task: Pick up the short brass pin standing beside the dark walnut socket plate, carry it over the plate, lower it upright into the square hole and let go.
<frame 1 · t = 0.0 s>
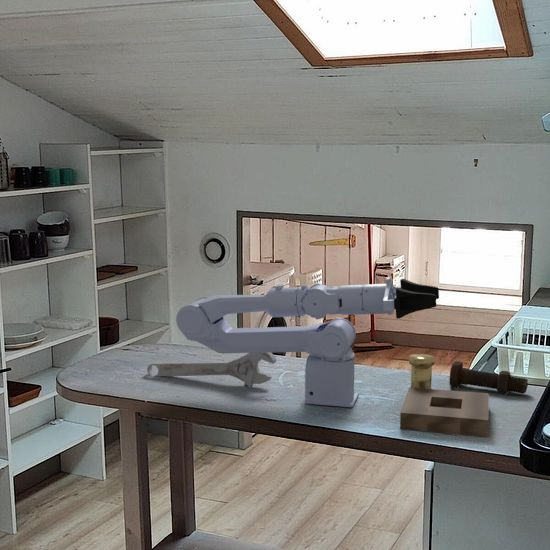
hand: (437, 296, 147), 22 cm above the table, tool horizontal, fingers open, 7 cm apart
brass pin: (420, 395, 158), on the table
bolt: (488, 392, 162), on the table
socket plate: (445, 418, 145), on the table
wrench: (210, 383, 168), on the table
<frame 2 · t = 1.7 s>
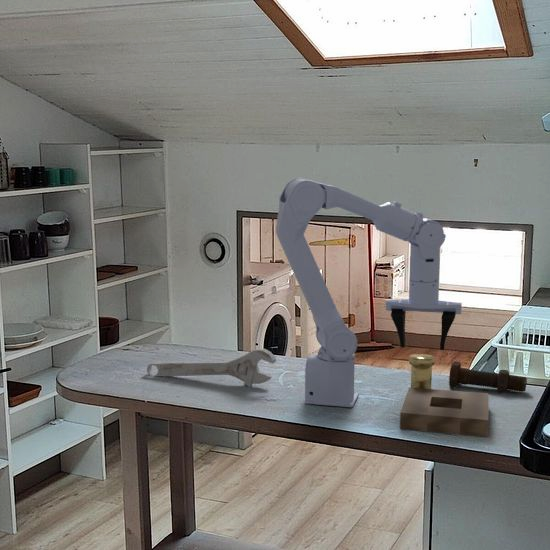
hand: (422, 347, 156), 10 cm above the table, tool pointing down, fingers open, 7 cm apart
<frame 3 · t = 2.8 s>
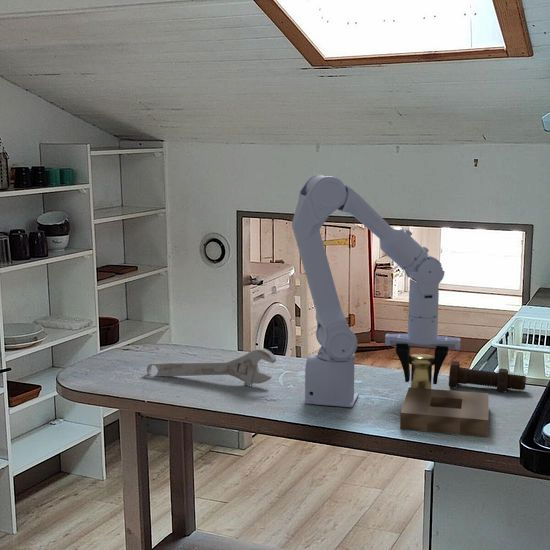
hand: (421, 381, 158), 3 cm above the table, tool pointing down, fingers closed on brass pin, 5 cm apart
brass pin: (420, 395, 158), on the table, touching gripper
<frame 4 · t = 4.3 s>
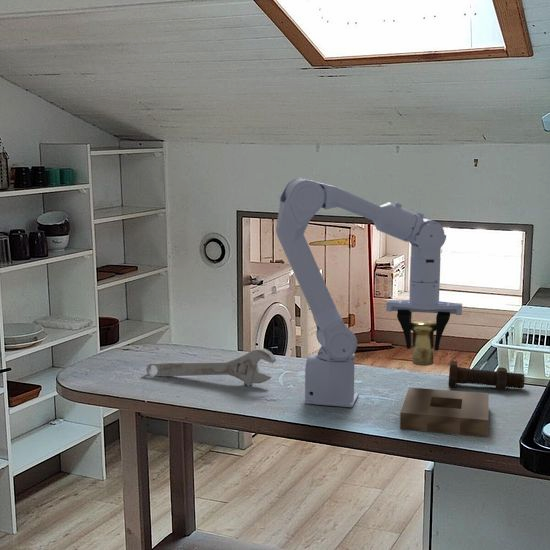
hand: (422, 348, 156), 10 cm above the table, tool pointing down, fingers closed on brass pin, 5 cm apart
brass pin: (423, 362, 157), point 7 cm above the table, touching gripper
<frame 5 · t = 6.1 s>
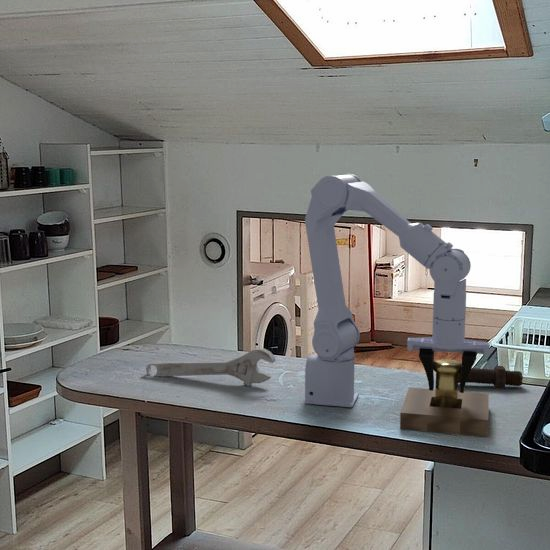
hand: (446, 390, 144), 5 cm above the table, tool pointing down, fingers closed on brass pin, 5 cm apart
brass pin: (445, 404, 145), point 2 cm above the table, touching gripper
when the fingers open (4 cm above the table, at t = 7.6 s): brass pin drops 1 cm, resting in socket plate.
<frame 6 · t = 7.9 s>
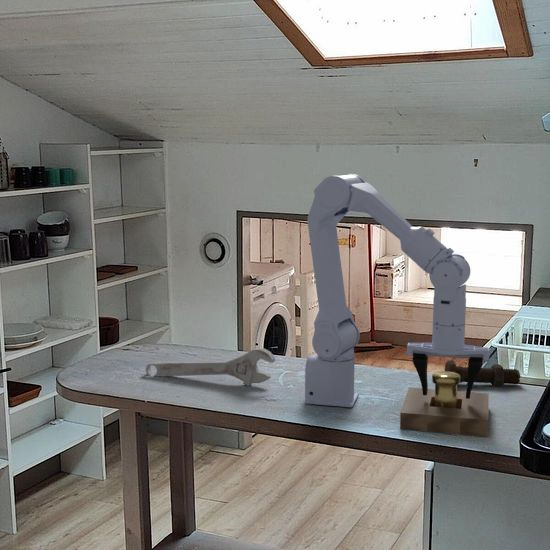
hand: (446, 395, 145), 4 cm above the table, tool pointing down, fingers open, 7 cm apart
brass pin: (445, 417, 146), resting in socket plate
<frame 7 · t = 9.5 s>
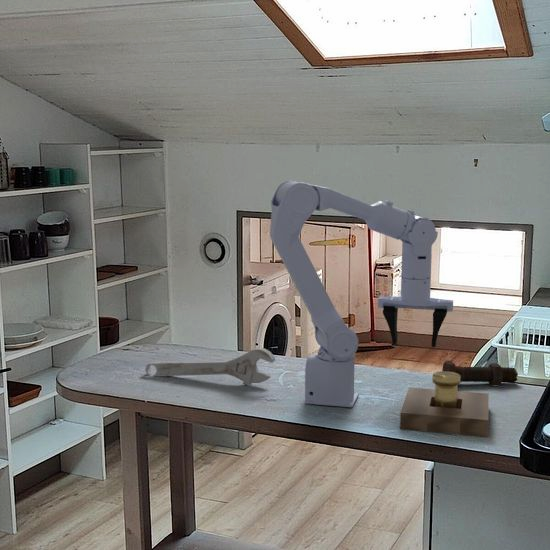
hand: (414, 344, 157), 10 cm above the table, tool pointing down, fingers open, 7 cm apart
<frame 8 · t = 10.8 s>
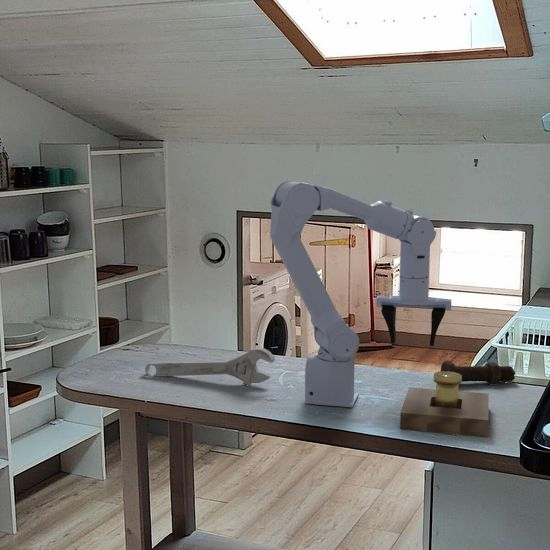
hand: (412, 343, 158), 10 cm above the table, tool pointing down, fingers open, 7 cm apart
at the end: brass pin 0.6 cm off-centre on the socket plate, point 0.0 cm above the socket plate's base; brass pin tilted 2°; the gripper is holding nothing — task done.
